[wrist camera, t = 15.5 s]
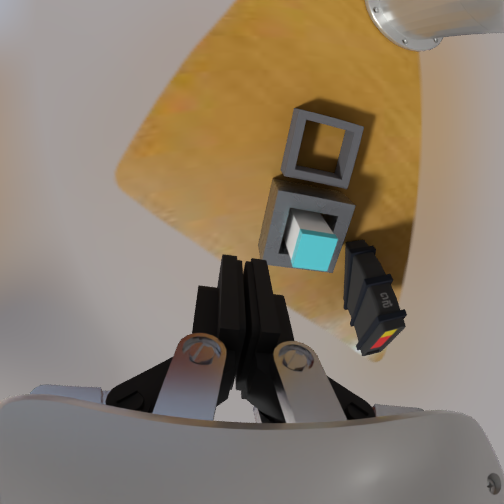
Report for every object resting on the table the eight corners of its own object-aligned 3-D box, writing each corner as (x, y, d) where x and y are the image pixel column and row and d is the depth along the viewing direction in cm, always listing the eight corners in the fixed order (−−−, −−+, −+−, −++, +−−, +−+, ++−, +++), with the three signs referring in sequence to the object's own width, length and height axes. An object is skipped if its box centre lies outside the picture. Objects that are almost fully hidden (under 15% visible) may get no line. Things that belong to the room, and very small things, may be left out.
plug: (287, 203, 39) (302, 233, 31) (317, 208, 39) (338, 239, 32) (280, 231, 41) (292, 267, 33) (309, 235, 41) (327, 271, 34)
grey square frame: (294, 108, 33) (299, 109, 30) (354, 124, 34) (364, 127, 31) (280, 169, 37) (284, 176, 34) (339, 182, 38) (347, 189, 35)
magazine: (371, 223, 39) (410, 323, 31) (354, 272, 50) (378, 355, 41) (346, 226, 39) (381, 331, 31) (334, 276, 50) (356, 360, 41)
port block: (272, 178, 37) (278, 190, 33) (341, 191, 38) (355, 205, 34) (258, 244, 42) (261, 264, 37) (322, 253, 43) (332, 272, 39)
